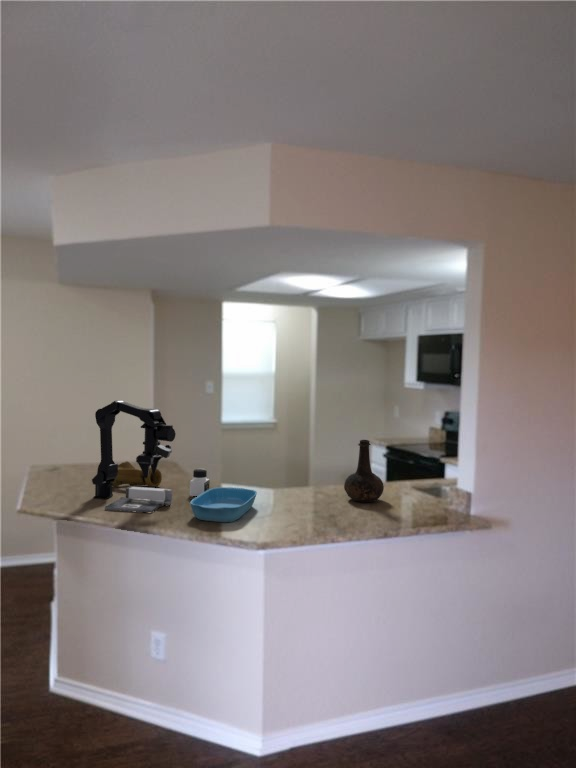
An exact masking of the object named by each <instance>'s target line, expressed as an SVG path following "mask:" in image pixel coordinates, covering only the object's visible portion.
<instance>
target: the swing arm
mask: <svg viewBox="0 0 576 768" xmlns="http://www.w3.org/2000/svg"><path fill="white" fill-rule="evenodd" d="M125 498H135V499H149V500H163V501H169V500H171V501H172V500H173V489H169V488H158V487H156V488H151V487H146V486H145V487H143V486H134V485H133V486H131V485H129V486H128V487H126V488H125Z"/></svg>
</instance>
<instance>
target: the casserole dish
mask: <svg viewBox="0 0 576 768" xmlns="http://www.w3.org/2000/svg"><path fill="white" fill-rule="evenodd" d="M257 495H258V492H257V490H254V489H250V488H245V487H244V488H243V487H238V486H237V487H233V486H228V487H226V486H225V487H223V486H221V487H219V486H218V487H212V488H209V490H207V491H205V492H203V493H202V494H200V495H199V496H197V497H193V498H192V500H191V501H189V503H190V507H191V510H192V513H193V515H194V517H195V518H197V519H198V520H200V521H208V522H219V523H233V522H235V521H237V520H238V519H240V518H242V516H243V515H245V514H246V513H247V512H248V511H249V510H250V509H251V508H252V507H253V505H254V502H255V500H256V497H257Z"/></svg>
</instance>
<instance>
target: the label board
mask: <svg viewBox="0 0 576 768" xmlns="http://www.w3.org/2000/svg"><path fill="white" fill-rule="evenodd" d="M163 504H164V505H171V506H172V500H169V501H163V500H149V499H135V498H126V497H120V498H118V499H116V500H115V501H113V502H111V503H109V504H107V505H105V506H104V510H105V511H113V510H121V511H120V512H126V511H136V512H135V513H140V512H153V511H154V510H155V511H156V509H157V508H158V507H160V506H161V505H162V506H164V505H163ZM162 506H161V507H162ZM161 507H160V508H161ZM158 509H159V508H158ZM158 509H157V510H158ZM155 511H154V512H155ZM154 512H153V513H154Z"/></svg>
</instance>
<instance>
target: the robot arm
mask: <svg viewBox="0 0 576 768" xmlns="http://www.w3.org/2000/svg"><path fill="white" fill-rule="evenodd" d="M121 412H122V413H125V414H127V415H130V416H133V417H136V418H138V419H139V420H140V421H141V422H143V424H142V425H141V426H140V428H141V429H144V441H142V445H144V446H143V447H144V448H143V449H144V450H143V451H142V453H140V454H138V455H137V456H136V458H135V463H137V465H138V466H139V468H140V470H142V472H143V474H144V476H145V478H148V475H149V469H150V468H151V469H152V472H153V473H156V469H158V465H159V462H160V461H161V460H162V459H163V458H165V459H168V458H169V457H170V455H171V453H172V452H173V451H172V450H173V449H172V446H171V444H166V445H162V444H161V441H163V442H173V441H174V440H175V439H176V430H175V429H174V426H173V424H167V423H166V422H165V419H164V417H163V416H162V413H161V410H160V409H154V408H143V407H140V406H139V405H138V406H137V405H135V404H132V403H129V402H125V401H123V400H122V399H121V400H114V401H112V402H111V403H109V404H107V405H105V406H103V407H101V408H98V409H97V410H96V411H95V412H94V416H95V422H96V424H97V425H98V426H97V427H99V433H100V434H99V436H100V437H99V438H100V440H99V441H100V443H99V444H100V462H99V464H98V466H97V470H96V471H97V472H96V474H95V476H94V477H93V478H92V479H91V482H92V485H95V486H94V487H95V490H94V496H93V497H92V498H94V499H103V500H104V499H106V500H107V499H109V498H111V497H112V496H114V494H113V490H114V486H112V483H110V482H114V480H115V477H116V476H117V473H118V465H119V464H118V463H115V461H114V460H113V459H114V455H113V426H114V424H115V422H116V416H117V415H119V414H120V413H121Z"/></svg>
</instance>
